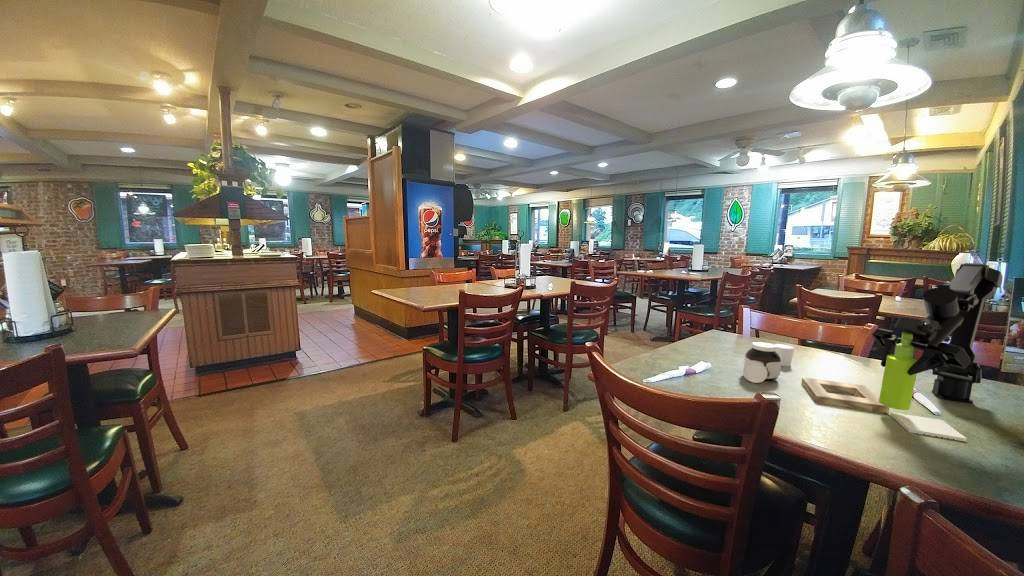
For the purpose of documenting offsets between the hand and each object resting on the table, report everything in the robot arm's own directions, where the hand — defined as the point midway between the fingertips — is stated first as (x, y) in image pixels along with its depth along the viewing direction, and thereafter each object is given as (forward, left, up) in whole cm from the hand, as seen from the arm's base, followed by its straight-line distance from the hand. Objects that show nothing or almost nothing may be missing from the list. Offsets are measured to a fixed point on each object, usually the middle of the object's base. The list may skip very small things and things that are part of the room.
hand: (895, 369), depth 99 cm
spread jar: (+27, -17, -14) cm, 35 cm away
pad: (-6, +3, -13) cm, 15 cm away
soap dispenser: (-1, -1, -10) cm, 10 cm away
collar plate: (+7, -11, -13) cm, 19 cm away
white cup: (+17, -39, -13) cm, 45 cm away
